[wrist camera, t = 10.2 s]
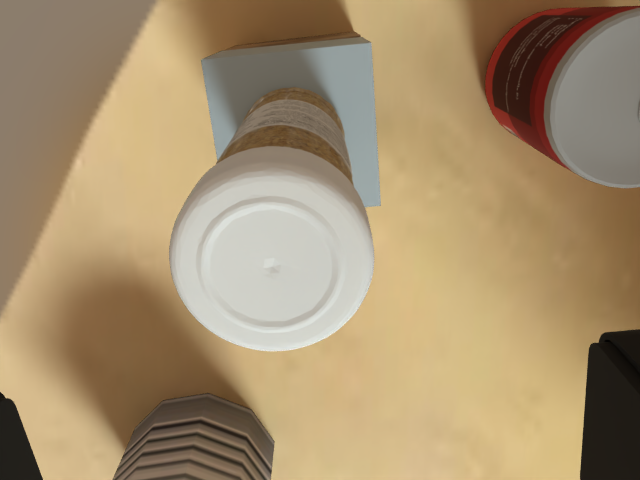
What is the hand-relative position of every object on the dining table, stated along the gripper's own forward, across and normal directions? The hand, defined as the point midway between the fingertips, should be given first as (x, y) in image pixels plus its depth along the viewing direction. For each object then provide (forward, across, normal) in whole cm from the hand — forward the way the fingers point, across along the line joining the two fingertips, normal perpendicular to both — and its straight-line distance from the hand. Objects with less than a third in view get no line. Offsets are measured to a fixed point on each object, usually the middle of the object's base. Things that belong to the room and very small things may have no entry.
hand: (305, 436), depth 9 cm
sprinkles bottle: (+17, +1, -2) cm, 17 cm away
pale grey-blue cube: (+23, +1, -2) cm, 23 cm away
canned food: (+28, -14, -1) cm, 32 cm away
